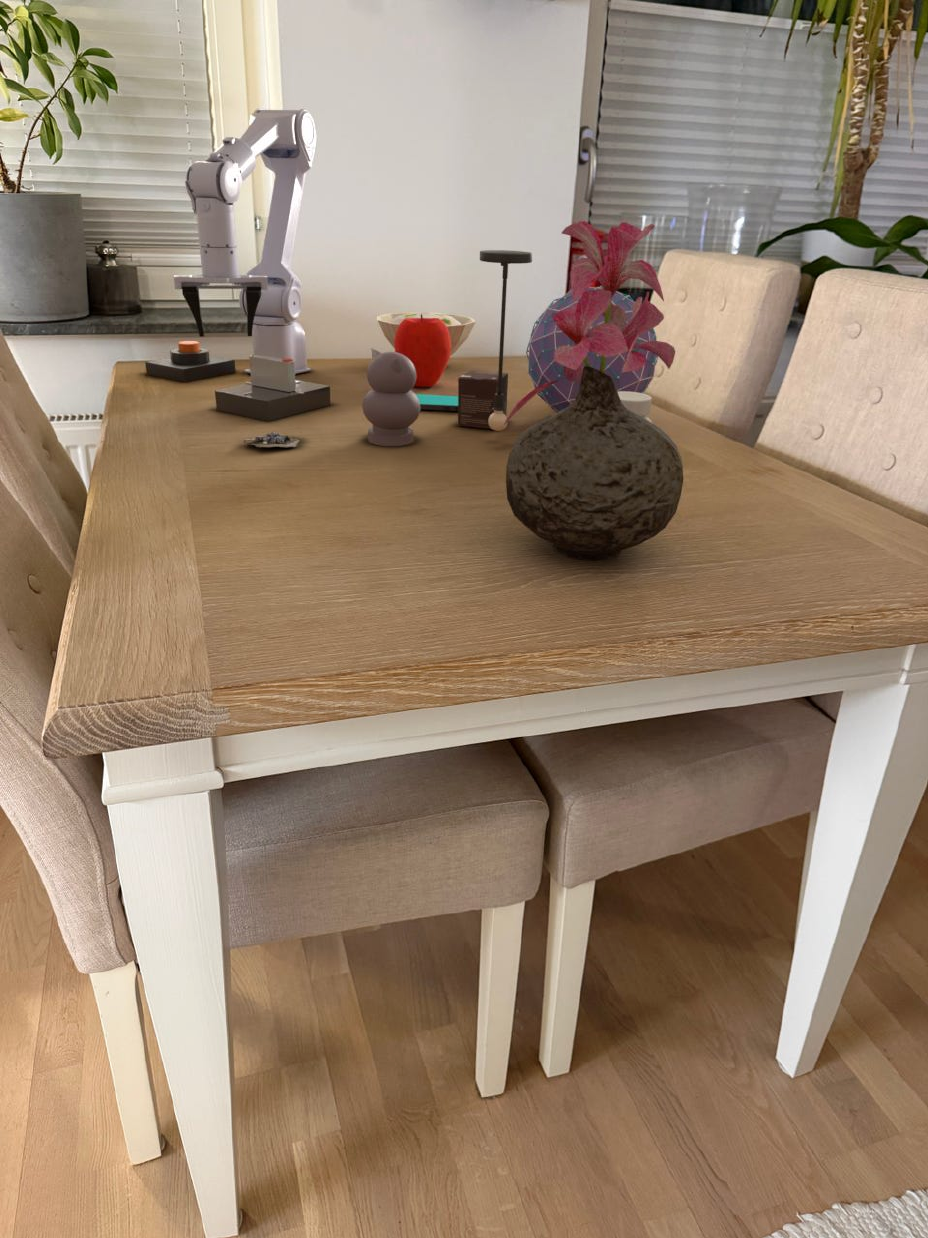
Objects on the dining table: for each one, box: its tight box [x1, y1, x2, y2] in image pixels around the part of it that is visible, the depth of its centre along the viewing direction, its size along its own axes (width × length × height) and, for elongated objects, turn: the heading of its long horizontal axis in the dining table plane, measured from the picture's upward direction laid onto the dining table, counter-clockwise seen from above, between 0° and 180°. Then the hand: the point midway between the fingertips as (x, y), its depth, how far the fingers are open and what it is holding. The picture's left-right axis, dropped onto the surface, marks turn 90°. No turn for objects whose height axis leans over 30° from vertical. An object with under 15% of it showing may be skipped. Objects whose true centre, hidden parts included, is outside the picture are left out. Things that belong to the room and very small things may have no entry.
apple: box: [394, 314, 451, 388], centre depth 156 cm, size 10×10×12 cm
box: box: [457, 369, 509, 430], centre depth 133 cm, size 6×6×7 cm
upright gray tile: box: [248, 354, 296, 392], centre depth 138 cm, size 8×2×5 cm, turn 57°
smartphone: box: [415, 393, 458, 412], centre depth 144 cm, size 7×1×15 cm
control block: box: [144, 347, 237, 383], centre depth 161 cm, size 12×10×4 cm
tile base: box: [214, 379, 331, 422], centre depth 139 cm, size 14×12×3 cm
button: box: [177, 340, 201, 353], centre depth 160 cm, size 4×4×2 cm
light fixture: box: [479, 249, 533, 432], centre depth 118 cm, size 7×7×25 cm
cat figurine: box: [362, 347, 422, 447], centre depth 122 cm, size 8×8×12 cm
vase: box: [503, 220, 684, 561], centre depth 83 cm, size 17×17×30 cm
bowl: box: [376, 311, 476, 357], centre depth 172 cm, size 19×19×10 cm
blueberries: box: [243, 431, 301, 449], centre depth 120 cm, size 7×8×2 cm
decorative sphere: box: [525, 285, 659, 414], centre depth 135 cm, size 20×20×20 cm
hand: (226, 335), depth 147 cm, fingers open, 7 cm apart
